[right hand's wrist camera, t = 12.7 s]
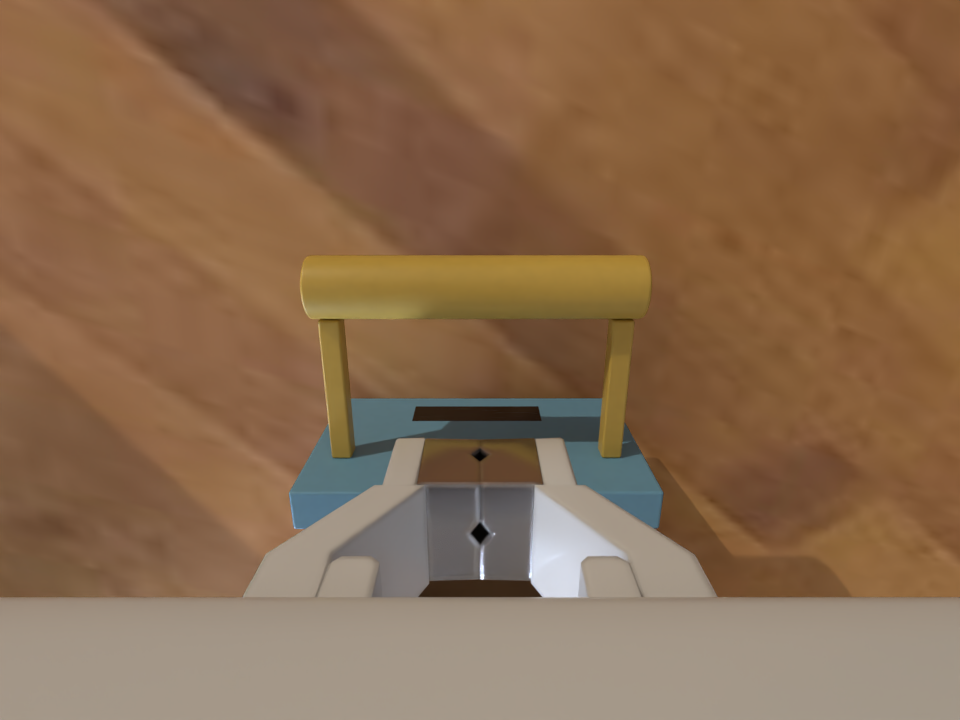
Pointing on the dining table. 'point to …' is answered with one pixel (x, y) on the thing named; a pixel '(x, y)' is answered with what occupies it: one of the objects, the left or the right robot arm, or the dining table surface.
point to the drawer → (380, 422)
